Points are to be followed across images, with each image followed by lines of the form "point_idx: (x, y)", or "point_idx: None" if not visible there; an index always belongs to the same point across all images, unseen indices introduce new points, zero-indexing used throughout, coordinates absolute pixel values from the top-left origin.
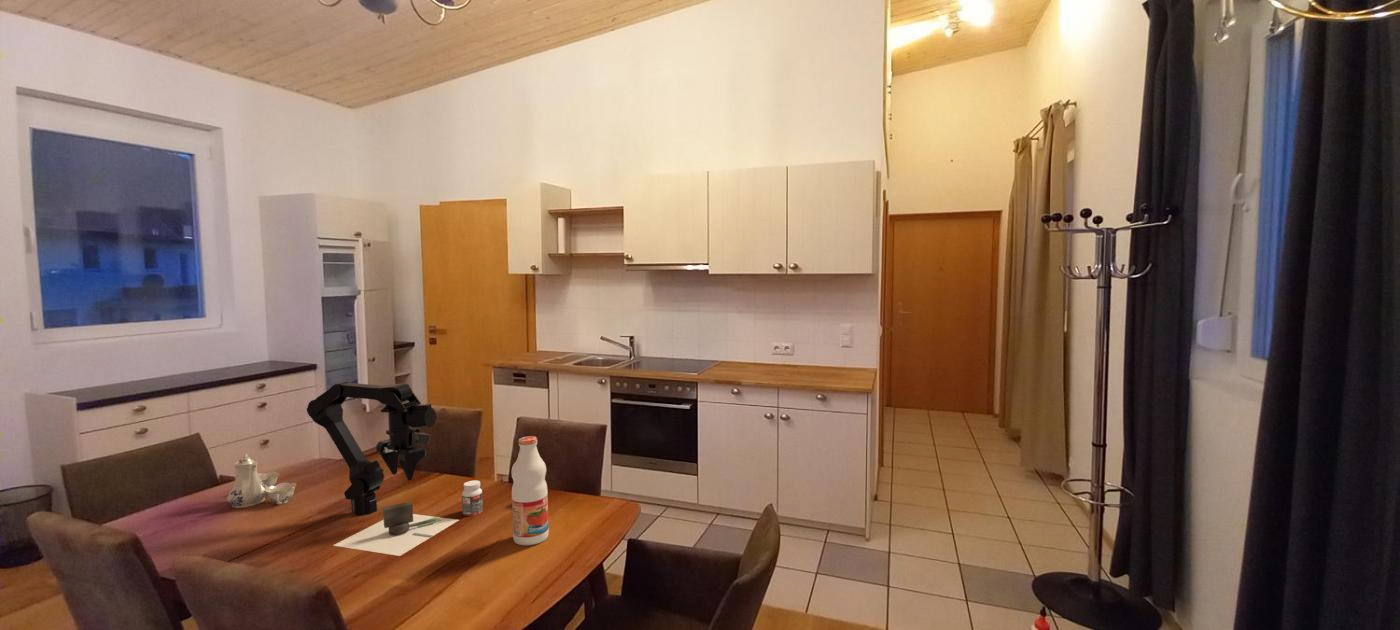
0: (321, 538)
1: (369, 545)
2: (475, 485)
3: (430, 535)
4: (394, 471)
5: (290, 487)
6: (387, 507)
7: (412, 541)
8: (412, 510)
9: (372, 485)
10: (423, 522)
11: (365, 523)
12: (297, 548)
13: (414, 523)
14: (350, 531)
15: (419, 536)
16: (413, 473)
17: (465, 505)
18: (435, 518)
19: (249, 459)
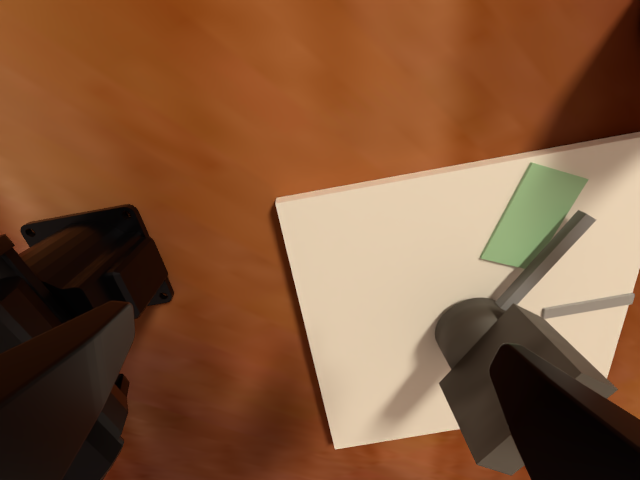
0: (219, 423)
1: (449, 410)
2: None
3: (626, 298)
4: (114, 353)
5: None
6: (499, 455)
7: (578, 345)
8: (585, 360)
9: (107, 401)
10: (551, 265)
11: (226, 310)
12: (230, 469)
13: (518, 290)
14: (251, 366)
15: (579, 314)
16: (610, 405)
17: None
18: (587, 214)
19: None
